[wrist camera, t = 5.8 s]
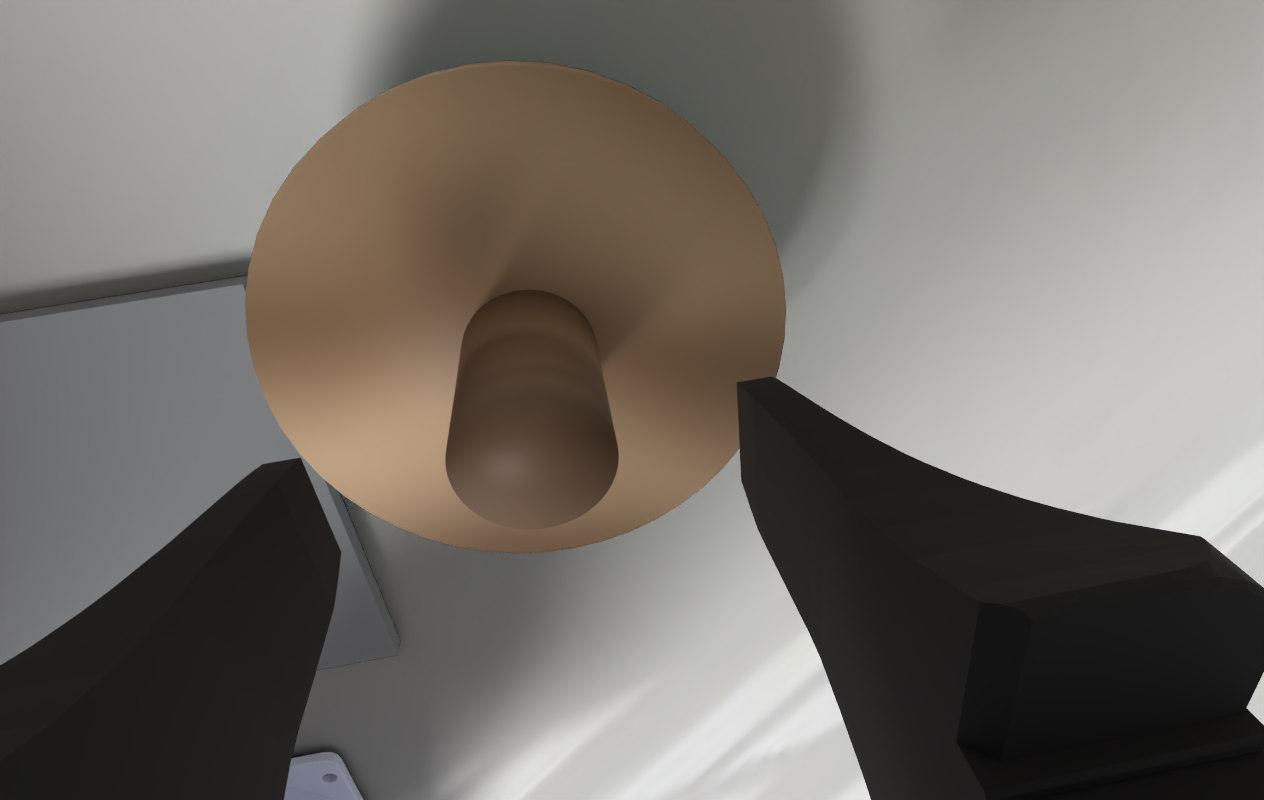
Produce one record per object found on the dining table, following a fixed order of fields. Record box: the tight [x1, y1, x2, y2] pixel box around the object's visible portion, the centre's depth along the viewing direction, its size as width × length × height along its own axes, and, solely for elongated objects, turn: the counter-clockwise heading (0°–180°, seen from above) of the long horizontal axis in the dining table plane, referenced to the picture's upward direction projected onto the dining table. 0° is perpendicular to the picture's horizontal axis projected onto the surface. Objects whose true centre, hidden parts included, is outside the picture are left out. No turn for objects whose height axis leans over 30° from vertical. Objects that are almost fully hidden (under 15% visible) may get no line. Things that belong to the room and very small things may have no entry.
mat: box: [0, 275, 400, 671], centre depth 21 cm, size 13×13×1 cm
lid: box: [245, 60, 786, 553], centre depth 14 cm, size 11×11×5 cm
